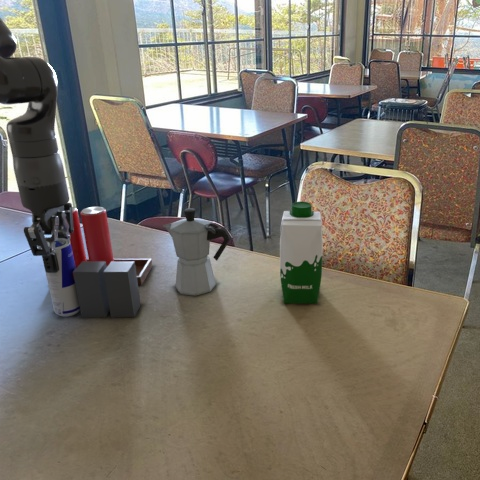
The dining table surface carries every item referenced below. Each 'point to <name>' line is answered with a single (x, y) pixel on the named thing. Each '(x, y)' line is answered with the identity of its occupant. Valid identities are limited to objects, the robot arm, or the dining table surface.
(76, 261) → the drink can
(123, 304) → the grey block
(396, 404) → the dining table surface
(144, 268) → the can tray
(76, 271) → the grey block
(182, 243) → the coffee maker
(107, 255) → the drink can
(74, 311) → the beverage can
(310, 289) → the milk carton
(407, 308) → the dining table surface
